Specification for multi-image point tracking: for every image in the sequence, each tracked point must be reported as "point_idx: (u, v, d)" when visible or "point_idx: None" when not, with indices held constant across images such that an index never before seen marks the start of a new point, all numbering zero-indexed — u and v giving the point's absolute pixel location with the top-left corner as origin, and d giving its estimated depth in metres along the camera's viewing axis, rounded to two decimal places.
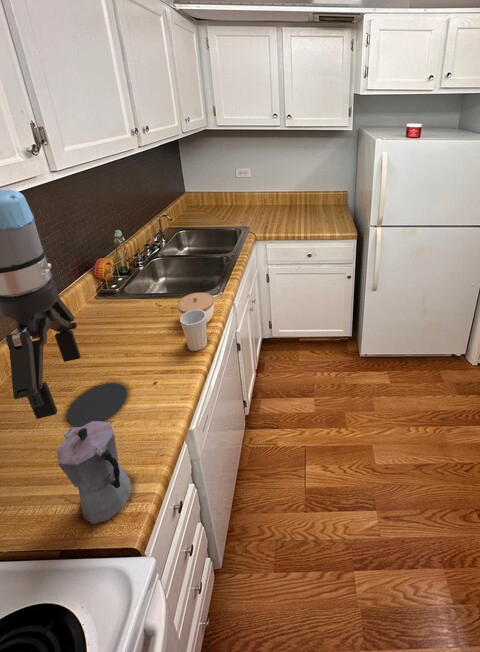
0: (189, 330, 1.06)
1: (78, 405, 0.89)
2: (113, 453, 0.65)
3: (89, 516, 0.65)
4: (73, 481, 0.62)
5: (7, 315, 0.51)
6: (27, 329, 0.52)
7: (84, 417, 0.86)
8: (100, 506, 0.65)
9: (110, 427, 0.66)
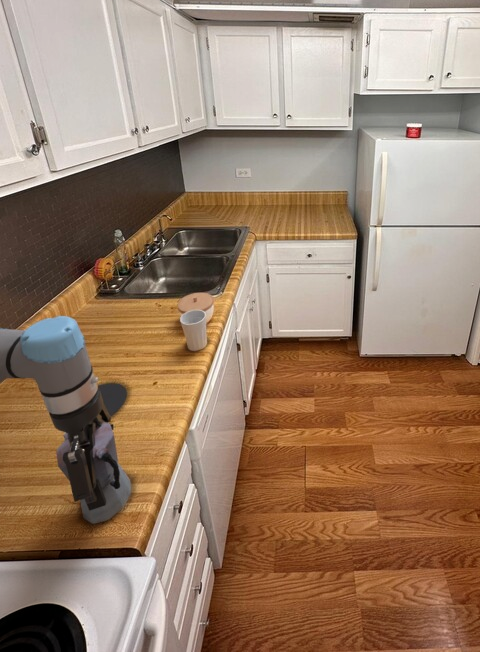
0: (189, 330, 1.06)
1: None
2: (112, 454, 0.65)
3: (89, 516, 0.65)
4: None
5: (60, 429, 0.56)
6: (78, 442, 0.57)
7: None
8: None
9: (110, 428, 0.66)
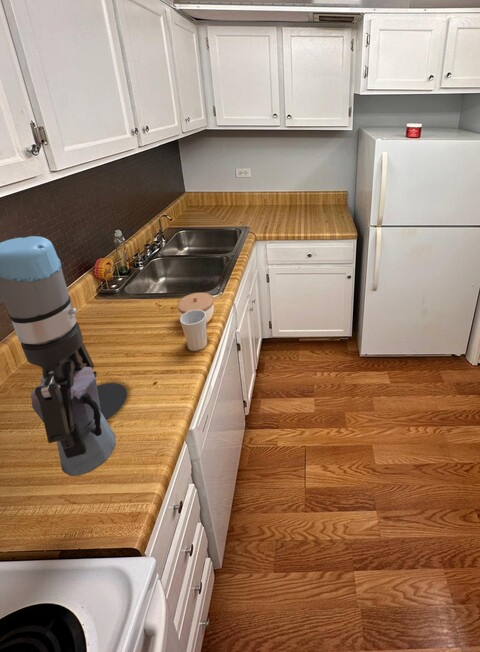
0: (189, 330, 1.06)
1: None
2: (94, 400, 0.59)
3: (68, 467, 0.59)
4: None
5: (33, 362, 0.51)
6: (54, 377, 0.52)
7: None
8: (80, 456, 0.59)
9: (91, 372, 0.60)
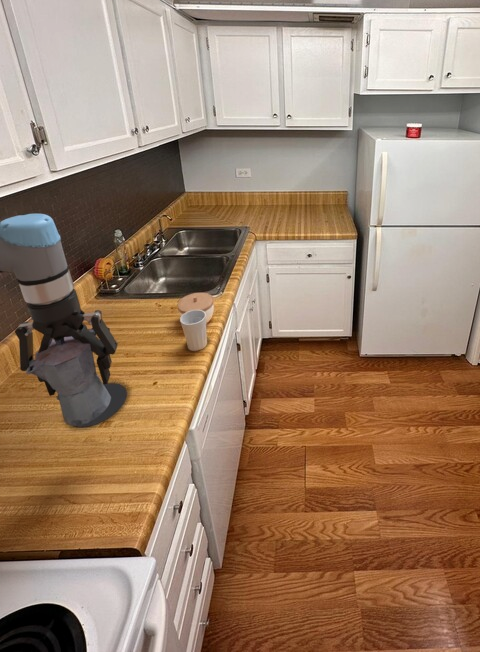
0: (189, 330, 1.06)
1: None
2: None
3: (101, 404, 0.71)
4: (85, 373, 0.67)
5: (72, 311, 0.63)
6: None
7: None
8: (103, 387, 0.73)
9: None
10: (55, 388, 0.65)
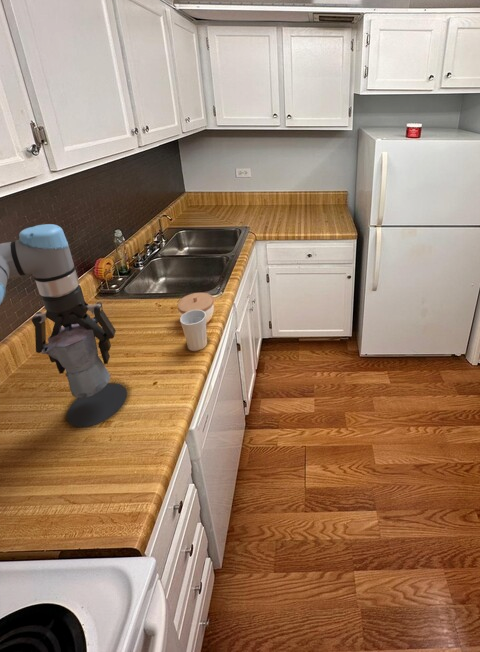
0: (189, 330, 1.06)
1: (78, 405, 0.89)
2: None
3: (102, 380, 0.86)
4: (89, 354, 0.81)
5: (78, 302, 0.77)
6: None
7: (84, 417, 0.86)
8: (104, 367, 0.87)
9: None
10: (65, 366, 0.80)
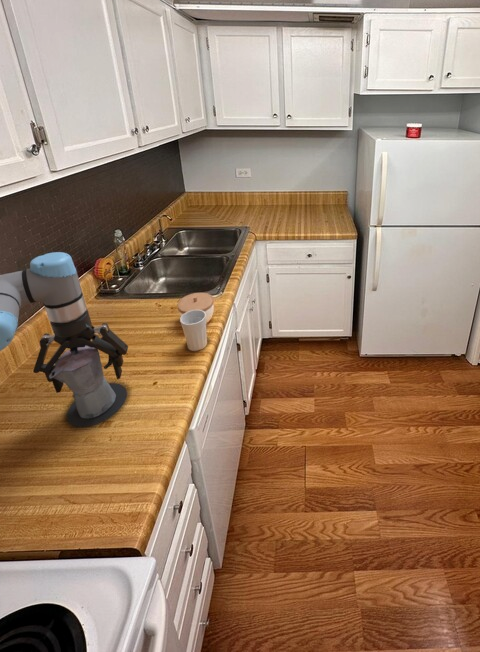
0: (189, 330, 1.06)
1: None
2: None
3: (108, 400, 0.88)
4: (95, 376, 0.84)
5: (85, 326, 0.80)
6: None
7: None
8: (109, 387, 0.90)
9: None
10: (72, 389, 0.82)
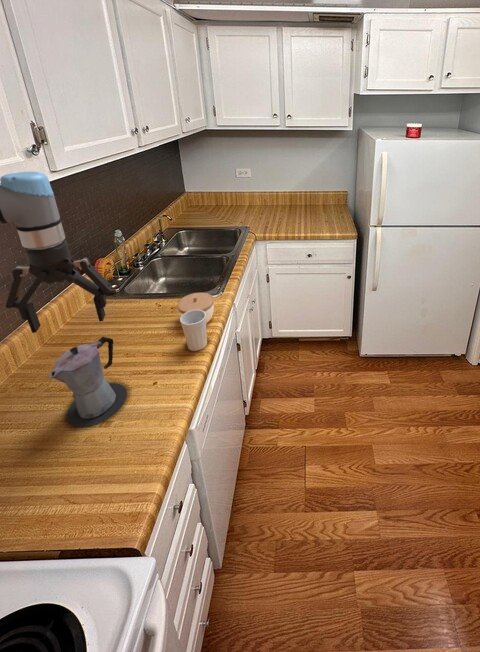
0: (189, 330, 1.06)
1: None
2: None
3: (108, 400, 0.88)
4: (95, 376, 0.84)
5: (64, 257, 0.73)
6: None
7: None
8: (109, 387, 0.90)
9: None
10: (72, 389, 0.82)
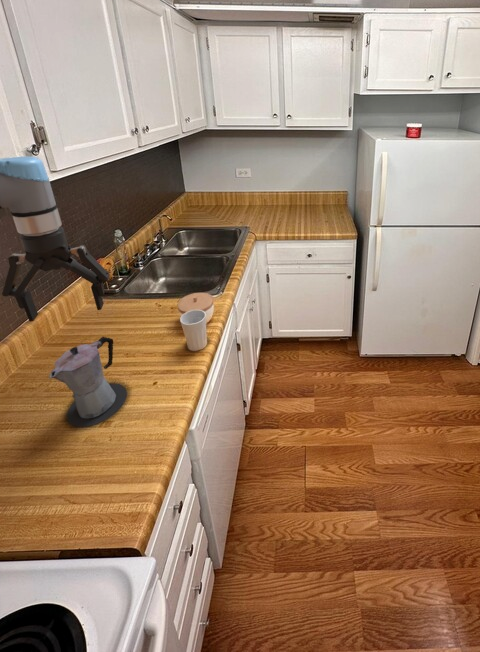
0: (189, 330, 1.06)
1: None
2: None
3: (108, 400, 0.88)
4: (95, 376, 0.84)
5: (60, 244, 0.72)
6: None
7: None
8: (109, 387, 0.90)
9: None
10: (72, 389, 0.82)
